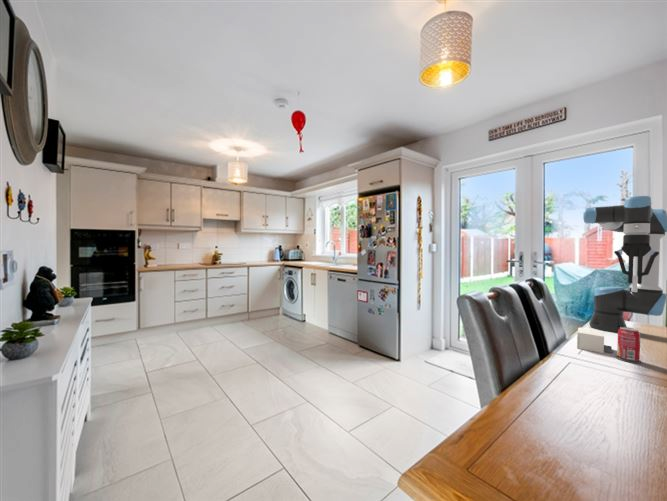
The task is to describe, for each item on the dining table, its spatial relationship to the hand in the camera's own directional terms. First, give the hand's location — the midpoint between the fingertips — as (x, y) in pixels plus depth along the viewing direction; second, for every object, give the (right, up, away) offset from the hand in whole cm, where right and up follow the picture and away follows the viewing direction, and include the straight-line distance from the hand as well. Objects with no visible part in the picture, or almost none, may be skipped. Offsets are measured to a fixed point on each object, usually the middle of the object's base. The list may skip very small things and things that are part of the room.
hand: (634, 291), depth 119 cm
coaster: (-7, -26, -5) cm, 28 cm away
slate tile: (-8, -27, +8) cm, 29 cm away
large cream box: (-10, -26, +9) cm, 29 cm away
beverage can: (-7, -26, -5) cm, 28 cm away
